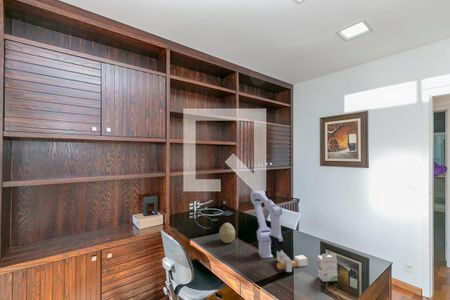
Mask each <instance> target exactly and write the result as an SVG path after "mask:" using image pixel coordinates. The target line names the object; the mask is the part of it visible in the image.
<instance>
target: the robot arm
mask: <svg viewBox="0 0 450 300" xmlns="http://www.w3.org/2000/svg"><path fill="white" fill-rule="evenodd" d="M249 194H250V195H249V197H250V201H251V204H252V205H253V207H254V210H255V211H254V212H255V215H256V218H257V223H258V229H257V230H256V238H257V241H258V251H257V253H258V255H259V256H260V258H261V259H267V258H274V255H273V254H272V249H271V247H276V253H277V252H281V250H283V249H282V248H283V245H284V243H285V239H283V236H282V227H281V216H282V215H283V209H282V207H281V206H280V205H276V204H275V203H274V201H272V199H269V198H268V197H267V196H266V192H265V191H264V190H263V189H262V190H251V191H250V193H249ZM263 203H264V204H263ZM262 204H263V205H264V207H265V209H267V211H268V214H269V218H270V227H268V226H267V223H266V218H265V215H264V211H263V207H262Z"/></svg>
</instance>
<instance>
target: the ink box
mask: <svg viewBox="0 0 450 300" xmlns="http://www.w3.org/2000/svg"><path fill="white" fill-rule="evenodd" d="M317 274H318V278H319V279H320V280H321V282H337V281H338V260H337V253H335V252H332V253H322V254H321V255H317ZM338 282H339V281H338Z"/></svg>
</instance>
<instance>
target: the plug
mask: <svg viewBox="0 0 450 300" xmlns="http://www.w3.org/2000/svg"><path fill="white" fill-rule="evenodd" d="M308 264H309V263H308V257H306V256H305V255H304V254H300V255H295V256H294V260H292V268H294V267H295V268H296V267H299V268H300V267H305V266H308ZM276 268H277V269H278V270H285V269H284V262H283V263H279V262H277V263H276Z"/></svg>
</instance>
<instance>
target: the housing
mask: <svg viewBox="0 0 450 300" xmlns="http://www.w3.org/2000/svg"><path fill="white" fill-rule="evenodd" d="M276 260H277V263H283V262H284V269H283V270H284V271H285V272H286V273H292V272H293V270H292V269H293V267H292V261H293V260H292V259H291V258H290V257H289V256H288V255H287V254H286V253H285V252H284V251H283V249H281V252H277V251H276Z"/></svg>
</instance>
